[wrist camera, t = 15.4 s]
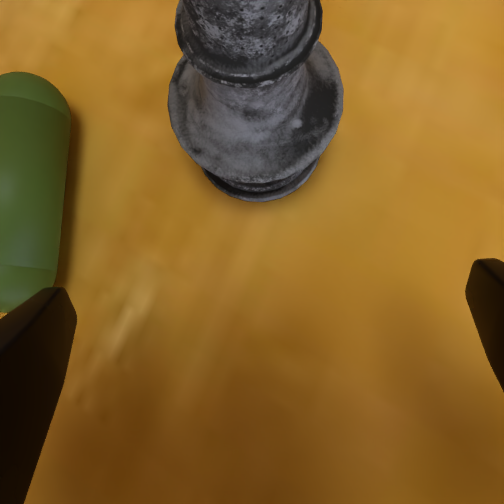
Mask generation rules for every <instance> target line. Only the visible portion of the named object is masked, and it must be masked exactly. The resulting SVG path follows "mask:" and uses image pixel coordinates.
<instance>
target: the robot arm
mask: <svg viewBox="0 0 504 504" xmlns="http://www.w3.org/2000/svg"><path fill="white" fill-rule="evenodd" d="M465 294H466V299H467V302H468V305H469V308H470V311H471V314H472V316H473V319H474V322H475V325H476V328H477V331H478V333H479V336H480V339H481V342H482V345H483V348H484V350H485V353H486V356H487V358H488V360H489V363H490V365H491V367H492V369H493V371H494V373H495V375H496V377H497V379H498V381H499V383H500V385H501V388H502V390H503V392H504V262H502V261H500V260H498V259H496V258H487V259H477V260H475V261H474V263H473V265H472V268H471V271H470V275H469V278H468V282H467V285H466V290H465ZM76 325H77V315H76V311H75V309H74V307H73V305H72V302H71V300H70V298H69V295H68V293H67V291H66V290H65V289H64V288H63V287H46V288H43V289H41V290H40V291H39V292H37V293H36V294H35V295H33V296H32V297H30V298H29V299H28V300H26V301H25V302H23V303H22V304H21V305H19V306H18V307H17V308H15V309H14V310H12V311H11V312H10V313H8V314H7V315H5V316H4V317H3V318H1V319H0V504H24V501H25V498H26V495H27V492H28V489H29V486H30V483H31V480H32V477H33V474H34V471H35V468H36V465H37V462H38V459H39V456H40V454H41V451H42V448H43V445H44V442H45V439H46V436H47V433H48V430H49V427H50V424H51V421H52V418H53V415H54V412H55V409H56V406H57V403H58V400H59V397H60V394H61V391H62V387H63V384H64V380H65V376H66V372H67V367H68V362H69V358H70V353H71V348H72V343H73V339H74V334H75V329H76Z"/></svg>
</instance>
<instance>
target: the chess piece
mask: <svg viewBox="0 0 504 504" xmlns="http://www.w3.org/2000/svg"><path fill="white" fill-rule="evenodd" d="M322 13H323V10H322V6H321V3H320V0H180V1H179V4H178V6H177V9H176V18H175V30H176V35H177V41H178V45H179V47H180V49H181V51H182V52H183V54H184V55H183V56H182V58H181V59H180V61H179V62H178V63H177V66H176V68H175V71H174V73H173V76H172V79H171V81H170V84H169V95H168V111H169V116H170V121H171V127H172V129H173V131H174V133H175V135H176V137H177V139H178V141H179V143H180V145H181V147H182V148H183V149H184V150H185V151H186V152H187V153H188V154H189V156H190V157H191V158H192V159H193V160H194V161H195V162H196V163H197V164H198V165H200V166H201V168H202V170H203V172H204V174H205V175H206V177H207V178H208V179H209V180H210V181H211V182H212V183H213V184H214V185H215V186H216V187H217V188H218V189H220V190H221V191H223V192H225V193H226V194H228V195H229V196H231V197H235V198H238V199H241V200H244V201H255V202H265V201H270V200H274V199H279V198H282V197H284V196H286V195H288V194H290V193H292V192H294V191H295V190H296V189H298V188H299V187H300V186H301V185H302V184H303V183H304V182H306V181H307V180H308V178H309V177H310V175H311V174H312V172H313V171H314V169H315V168H316V166H317V163H318V160H319V157H320V155H321V154H322V153H323V152H324V150H325V149H326V147H327V146H328V144H329V143H330V141H331V140H332V138H333V137H334V135H335V134H336V131H337V128H338V124H339V121H340V118H341V115H342V112H343V85H342V82H341V78H340V74H339V70H338V67H337V66H336V64H335V62H334V60H333V59H332V57H331V55H330V54H329V52H328V50H327V49H326V48H325V47H324V46H323V45H322V44H321V43H320V42H319V41H318V39H319V36H320V33H321V30H322Z"/></svg>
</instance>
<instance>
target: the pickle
mask: <svg viewBox="0 0 504 504" xmlns="http://www.w3.org/2000/svg"><path fill="white" fill-rule="evenodd" d="M70 131H71V114H70V110H69V106H68V104H67V102H66V100H65V98H64V97H63V95H62V94H61V93H60V91H59V90H58V89H57V88H56V87H55V86H54V85H53V84H51V83H50V82H49V81H47V80H46V79H44V78H42V77H40V76H37V75H35V74H31V73H26V72H10V73H6V74H2V75H0V312H2V313H10V312H11V311H12V310H14V309H15V308H17V307H18V306H19V305H21V304H22V303H23V302H25V301H26V300H28V299H29V298H30V297H32V296H33V295H35V294H36V293H37V292H39V291H40V290H41V289H43V288H46V287H52V286H53V284H54V282H55V279H56V274H57V267H58V257H59V246H60V236H61V225H62V215H63V205H64V194H65V184H66V173H67V163H68V152H69V142H70Z"/></svg>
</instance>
